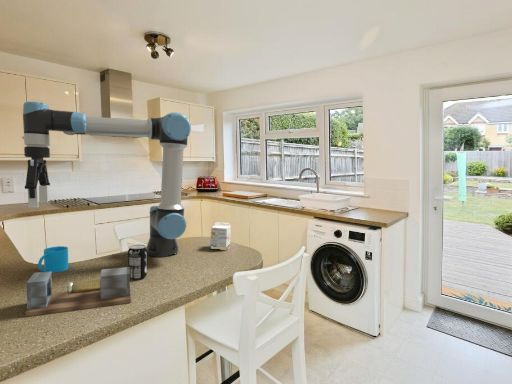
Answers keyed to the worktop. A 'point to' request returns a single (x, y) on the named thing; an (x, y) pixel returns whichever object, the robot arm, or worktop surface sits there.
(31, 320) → the worktop surface
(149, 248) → the robot arm
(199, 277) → the worktop surface
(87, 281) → the tube
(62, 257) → the mug
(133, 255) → the beverage can
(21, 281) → the worktop surface
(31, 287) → the rig
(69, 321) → the worktop surface
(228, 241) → the ink box
